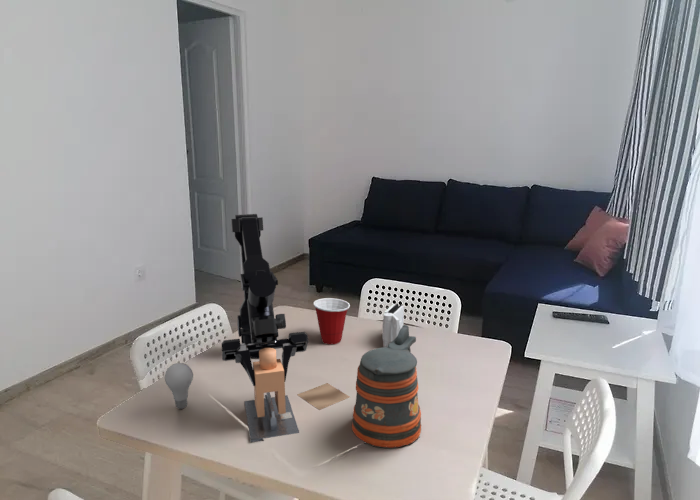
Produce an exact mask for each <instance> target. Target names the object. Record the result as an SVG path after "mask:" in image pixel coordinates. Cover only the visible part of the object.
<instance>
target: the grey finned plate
mask: <svg viewBox="0 0 700 500" xmlns="http://www.w3.org/2000/svg"><path fill="white" fill-rule="evenodd" d="M285 406H286V413H284V414H279V413H278V409H277V406H276V402H275V396H271V392H267V393H265V394H264V410H265V416H264V417H258V416H257V411H256V406H255V399H251V400H245V401H244V407H245V413H246V414H245V415H246V420H247V426H248V427H247V428H248V434H249V439H250V443H255V442H256V443H257V442H261V441H264V439H268V438H275V437H280V436H281V437H283V436H287V435H294V434H300V430H299V427H298V424H297V421H296V418H295V415H294V412H293V409H292V405H291V402H290V399H289V396H288V395H286V394H285Z"/></svg>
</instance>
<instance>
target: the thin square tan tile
mask: <svg viewBox="0 0 700 500" xmlns="http://www.w3.org/2000/svg"><path fill="white" fill-rule="evenodd" d="M297 396H298V397H300V398H301V399H302V400H304V401H305V402H307V403H308V404H309V405H310V406H311V405H312V407H314V408H316V409H317V410H319V411H320V410H323V409H325V408H328V407H330V406H333V405H334V404H335V405H336V404H338V403H340V402H343V401H344V400H348V399H349V398H351V396H349V395H348V394H346V393H345V392H343V391H341V390H339V388H337V387H334V385H332V384H330V383H327V382H326V383H325V384H321V385H319V386H316V387H313V388H311V389H308V390H305V391H303V392H300V393H298V394H297Z"/></svg>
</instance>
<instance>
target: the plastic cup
mask: <svg viewBox="0 0 700 500" xmlns="http://www.w3.org/2000/svg"><path fill="white" fill-rule="evenodd" d="M313 306H314V308H315V313H316V319H317V324H318V329H319V333H320V338H321V341H322V343H323V344H326V345H337V344H340V343H341V342H342V338H343V332H344V328H345V325H346V324H345V322H346V317H347V313H348V310H349V309H350V307H351V305H350V303H349V302H348V301H346V300H343V299H340V298H336V297H335V298H333V297H325V298H318V299H316V300H314V301H313Z"/></svg>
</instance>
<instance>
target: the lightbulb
mask: <svg viewBox="0 0 700 500" xmlns="http://www.w3.org/2000/svg"><path fill="white" fill-rule="evenodd" d="M193 378H194V373H193V370H192V368H191V366H189V365H188V364H186V363H184V362H175V363H173V364H171V365H170V366H169V367H168V368H167V369H166V370H165V373H164V382H165V384H166V386H167V387H168V389H169V390H170V391H171V393H172V397H173V400H174V404H175V408H176V409H179V410H183V409H185V408H186V407H187V405H188V395H189V389H190V386H191V384H192V383H193Z"/></svg>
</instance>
